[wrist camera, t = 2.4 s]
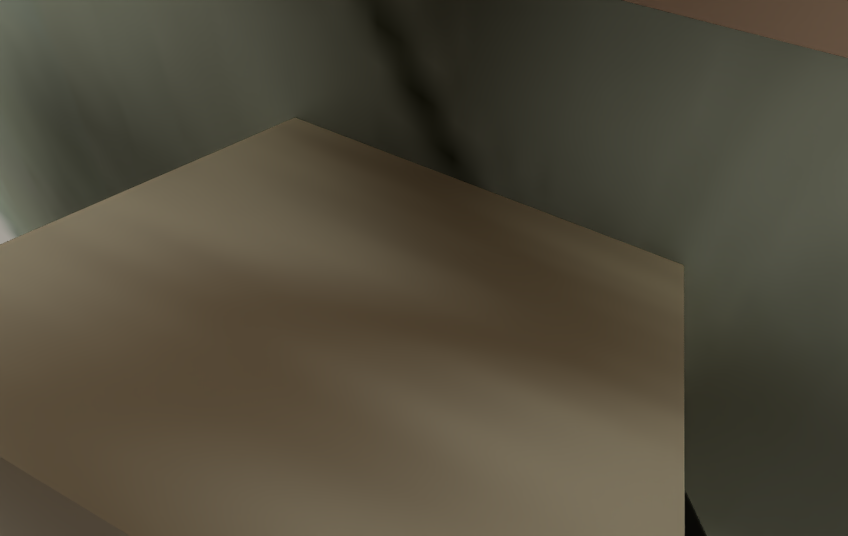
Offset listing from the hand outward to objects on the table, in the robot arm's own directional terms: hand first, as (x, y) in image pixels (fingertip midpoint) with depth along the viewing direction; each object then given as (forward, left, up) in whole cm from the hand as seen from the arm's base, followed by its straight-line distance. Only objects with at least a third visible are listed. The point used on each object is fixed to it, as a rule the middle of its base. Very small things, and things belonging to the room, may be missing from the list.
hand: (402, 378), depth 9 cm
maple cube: (0, 0, -1) cm, 1 cm away
